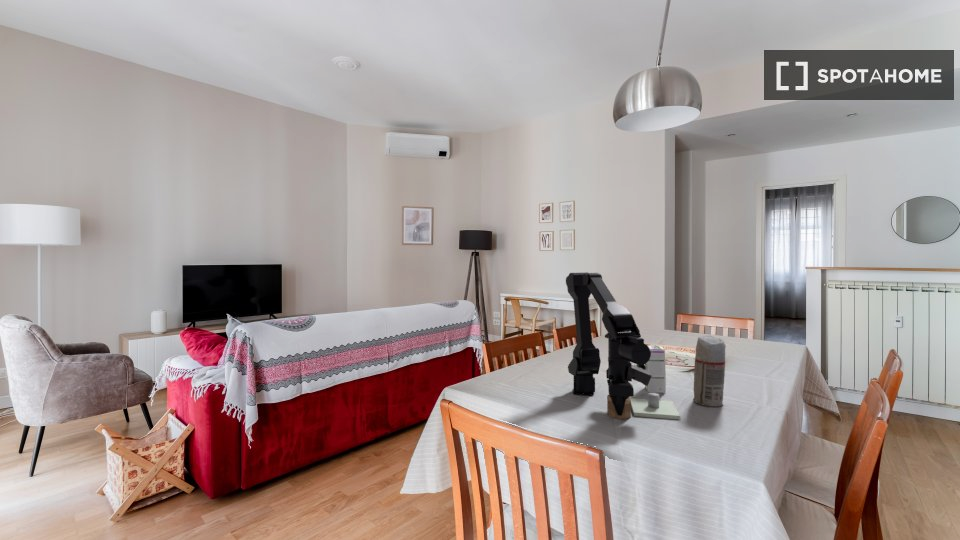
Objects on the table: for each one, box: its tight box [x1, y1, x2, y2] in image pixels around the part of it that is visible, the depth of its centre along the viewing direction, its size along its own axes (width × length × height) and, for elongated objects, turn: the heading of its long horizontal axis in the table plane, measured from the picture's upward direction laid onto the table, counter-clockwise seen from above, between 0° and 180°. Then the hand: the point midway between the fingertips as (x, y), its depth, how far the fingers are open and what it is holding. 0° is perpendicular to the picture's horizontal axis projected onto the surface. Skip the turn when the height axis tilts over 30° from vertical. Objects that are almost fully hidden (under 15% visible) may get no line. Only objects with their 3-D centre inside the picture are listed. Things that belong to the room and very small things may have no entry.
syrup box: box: [644, 344, 667, 394], centre depth 140 cm, size 6×6×14 cm
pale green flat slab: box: [631, 392, 681, 420], centre depth 123 cm, size 12×12×4 cm
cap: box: [606, 394, 632, 420], centre depth 119 cm, size 6×6×6 cm
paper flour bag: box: [693, 335, 726, 407], centre depth 128 cm, size 8×8×20 cm
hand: (618, 411), depth 120 cm, fingers closed on cap, 6 cm apart
